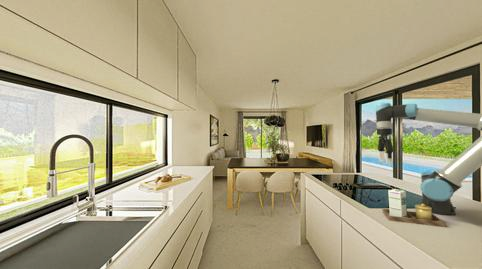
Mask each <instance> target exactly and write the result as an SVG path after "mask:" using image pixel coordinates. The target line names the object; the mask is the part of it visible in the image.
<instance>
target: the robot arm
mask: <svg viewBox="0 0 482 269" xmlns="http://www.w3.org/2000/svg"><path fill="white" fill-rule="evenodd" d="M375 117H376V118H375V119H376V123H375V125H376V135H377V136H378V144H377V150H378V158H379V162H380V163H381V162H385V161H386V162H385V163H386V165H393V153H394V147H393V142H392V136H391V135H393V130H392V127H393V126H392V125H393V124H392V123H393V122H392V119H402V120H411V121H419V122H420V121H421V122H427V123H433V124H434V123H435V124H442V125H451V126H460V127H466V128H467V127H468V128H473V129H474V128H475V129H477V130H478V131H482V113H475V112H464V111H456V110H455V111H454V110H444V109H443V110H441V109H430V108H421V107H418V104H417V103H407V104H398V105H391V103H389V102H385V103H384V102H382V103H378V104H376V106H375ZM481 167H482V135H480V136H479V137H478V138H477V139H476V140H474V142H472V144H470V145H469V146H468V147H467V148H465V149H464V150H463V151H462V152H461V153H460V154H459V155H457V156H455V158H454V159H453V160H452V161H450V162H449V163H447V165H446V166H445V167H443V168H442V169H436V170H434V171H432V172H429V171H423V172H421V174H420V177H421V183H420V191H421V196H422V197H421V199H420V201H419V205H421V204H425V205H426V206H429V207H431V208H432V210H431V214H433V215H439V216H447V217H450V216H451V217H452V216H456V213H457V212H456V209H455V207H454V205H453V203H452V200H451V198H452V197H453V195H454V193H456V192H457V191H458V190H460V188H462V187H463V185H462V182H464V180H466V179H467V178H468V177H469V176H471V175H472V174H473V173H475V172H476V171H477V170H478V169H480V168H481Z"/></svg>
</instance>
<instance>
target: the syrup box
mask: <svg viewBox="0 0 482 269" xmlns="http://www.w3.org/2000/svg"><path fill="white" fill-rule="evenodd" d="M407 206H408V205H407V192H406V190H403V189H399V188H398V189H397V188H393V189H388V207H389V208H388V209H389V210H390V216H396V217H405V218H407V211H408V210H407V209H408V207H407Z"/></svg>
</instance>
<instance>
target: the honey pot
mask: <svg viewBox="0 0 482 269" xmlns="http://www.w3.org/2000/svg"><path fill="white" fill-rule="evenodd" d="M419 204H420V203H419ZM419 204H415V205H414V209H415V212H416V219H423V220H432V213H431V210H432V208H431V207H429V206H426V205H425V204H421V205H419Z"/></svg>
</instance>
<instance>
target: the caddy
mask: <svg viewBox="0 0 482 269" xmlns="http://www.w3.org/2000/svg"><path fill="white" fill-rule="evenodd" d="M381 211H382V214H383V215H384V216H385V218H387V220H388V221H391V222H398V223H406V224H407V223H408V224H414V225H415V224H416V225H421V226H422V225H424V226H429V227H431V226H432V227H438V228H439V227H440V228H446V222H444V221H443V219H440V218H439V217H438V216H436V214H432V213H431V214H432V220H423V219H416V211H410V210H407V218H405V217H396V216H390V210H389V208H382V210H381Z"/></svg>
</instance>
